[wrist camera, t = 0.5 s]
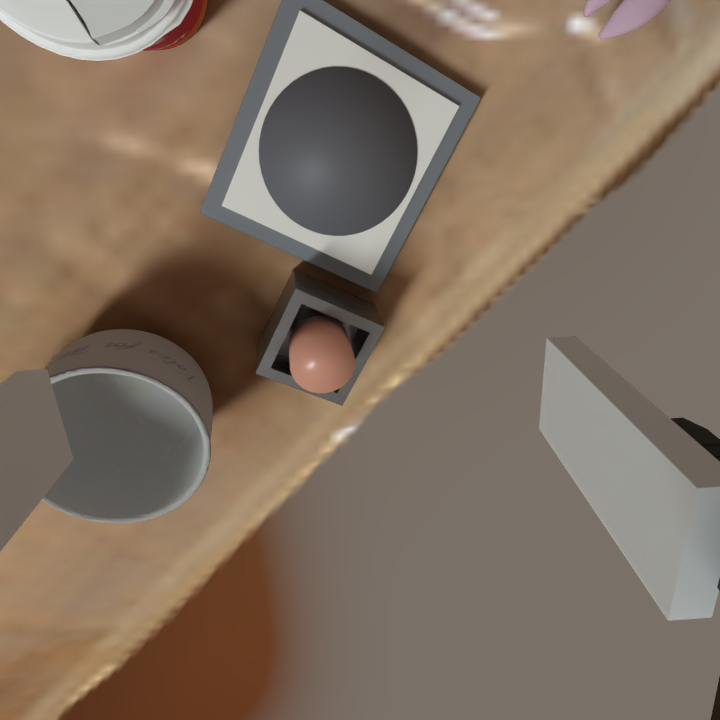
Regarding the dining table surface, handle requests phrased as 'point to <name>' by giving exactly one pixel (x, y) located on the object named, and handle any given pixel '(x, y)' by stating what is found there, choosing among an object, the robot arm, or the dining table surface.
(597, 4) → the pink unicorn toy
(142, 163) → the dining table surface
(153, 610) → the dining table surface
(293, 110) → the board
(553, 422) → the robot arm
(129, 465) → the teacup
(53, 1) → the paper cup
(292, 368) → the button
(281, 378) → the button housing
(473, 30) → the dining table surface
